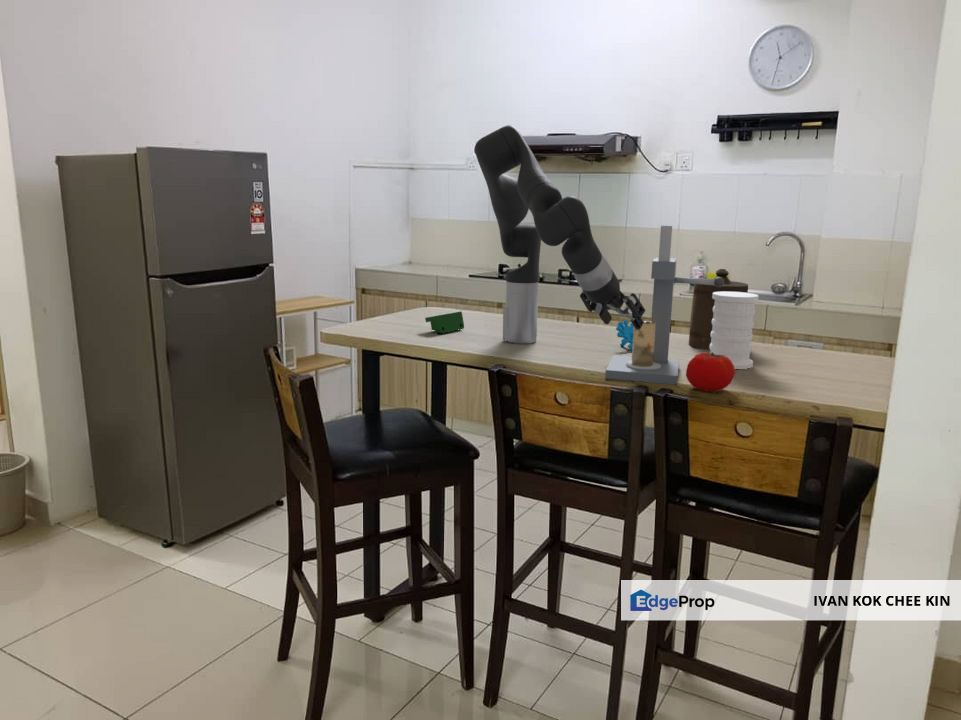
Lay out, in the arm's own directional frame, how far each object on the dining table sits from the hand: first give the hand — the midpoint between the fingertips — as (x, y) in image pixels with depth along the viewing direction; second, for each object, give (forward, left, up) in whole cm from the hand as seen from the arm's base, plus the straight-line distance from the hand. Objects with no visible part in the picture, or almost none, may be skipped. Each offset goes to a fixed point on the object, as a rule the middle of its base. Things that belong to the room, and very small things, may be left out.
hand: (624, 323), depth 164 cm
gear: (-1, +38, -13) cm, 40 cm away
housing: (+4, +8, -11) cm, 14 cm away
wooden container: (+21, +51, -13) cm, 57 cm away
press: (+9, +9, -13) cm, 18 cm away
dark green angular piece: (-58, +43, -13) cm, 74 cm away
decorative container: (+24, +27, -13) cm, 38 cm away
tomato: (+19, -1, -13) cm, 24 cm away
